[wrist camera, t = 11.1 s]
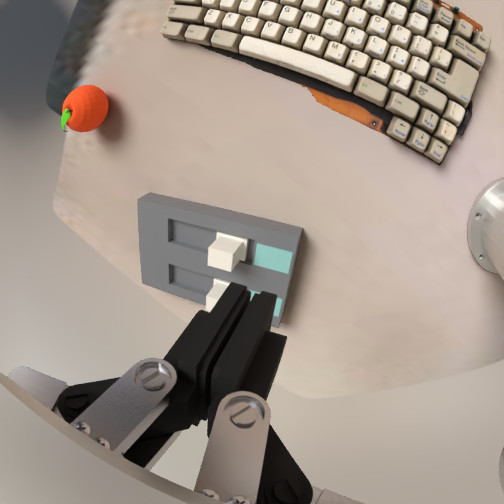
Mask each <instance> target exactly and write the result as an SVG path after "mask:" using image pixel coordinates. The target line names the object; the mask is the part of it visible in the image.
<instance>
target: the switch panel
mask: <svg viewBox="0 0 504 504" xmlns="http://www.w3.org/2000/svg"><path fill="white" fill-rule="evenodd" d="M138 227H139V246H140V260H141V273H142V283H143V284H146V285H148V286H151V287H154V288H157V289H159V290H162V291H165V292H168V293H171V294H174V295H177V296H179V297H182V298H185V299H188V300H191V301H194V302H197V303H200V304H203V305H206V296H207V294H208V293H209V292H210V290H211V289H212V288H213V283H214V278H218V279H221V280H224V281H228V282H235V283H238V284H242V285H245V286H247V290H248V291H251V299H252V297H253V296H254V294H255V293H258V294H260V293H261V291H266V292H269V293H273V294H276V295H277V300H276V305H275V310H274V314H273V319H272V323H271V326H274V327H279V325H280V322H281V319H282V317H283V314H284V309H285V305H286V301H287V297H288V293H289V288H290V284H291V280H292V275H293V271H294V267H295V262H296V258H297V253H298V249H299V244H300V239H301V235H302V230H303V228H301V227H297V226H293V225H289V224H285V223H281V222H277V221H273V220H269V219H264V218H260V217H256V216H252V215H248V214H243V213H239V212H235V211H231V210H226V209H222V208H218V207H213V206H209V205H204V204H200V203H195V202H191V201H186V200H182V199H177V198H172V197H168V196H163V195H158V194H154V193H148V194H146V195H145V196H143V197H141V198H139V199H138ZM217 231H221V232H225V233H229V234H233V235H237V236H241V237H244V238H248V239H249V244H248V251H247V258H246V260H245V261H242V260H239V262H238V263H237V264H236V266H235V267H234V269H233V270H232V271H231V272H229V271H226V270H222V269H219V268H215V267H212V266H208V265H207V264H208V248H209V247H210V245H211V244H212V243H213V242H214V241H215V240H216V235H217ZM251 299H250V301H251Z"/></svg>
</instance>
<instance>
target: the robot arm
mask: <svg viewBox="0 0 504 504" xmlns="http://www.w3.org/2000/svg"><path fill="white" fill-rule="evenodd" d="M477 213H478V214H477ZM476 214H477V215H476ZM467 234H468V242H469V246H470V249H471V251H472V253H473V256H474V257H475V259H476V260H477V262H478V263H479V264H480V265H481V266H482V267H483V268H484V269H486V270H488V271H490V272H493V273H496V274H500V276H501V277H502V279H503V281H504V178H503V179H499V180H497V181H495V182H493V183H492V184H490V185H489V186H488V187H487V188H486V189H484V191H483V192H482V193H481V194H480V195H479V197H478V198H477V200H476V202H475V203H474V205H473V208H472V210H471V213H470V217H469V221H468V231H467ZM250 299H251V291H248V290H247V286H245V285H242V284H238V283H235V282H231V283H230V284H229V285H228V287H227V288H226V290H225V291H224V293H223V294H222V296H221V297H220V298H219V300H218V301H217V303H216V304H215V306H214V307H213V309H212V310H211V312H210V313H209V312H206V311H203V310H200V311H198V313H197V314H196V315H195V316H194V318H193V319H192V320H191V322H190V323H189V325H188V326H187V327H186V329H185V330H184V331H183V333H182V334H181V336H180V337H179V338H178V340H177V341H176V342H175V344H174V345H173V346H172V348H171V349H170V351H169V352H168V353H167V355H166V356H165V357H164V359H163V360H162V359H158V358H148V359H144V360H141V361H139V362H137V363H136V364H135V365H134V366H132V367H131V368H130V369H129V370H128V371H127V372H126V373H125V374H124V375H123V376H122V377H119V378H114V379H107V380H102V381H96V382H90V383H84V384H78V385H73V386H68V385H67V384H66V382H64V381H61V380H58V379H56V378H53V377H50V376H48V375H45V374H43V373H40V372H38V371H36V370H33V369H31V368H29V367H24V366H21V367H17V368H15V369H13V370H12V371H11V372H10V373H9V375H8V376H7V377H6V376H5V375H3V374H2V373H0V504H364V503H361V502H358V501H356V500H352V499H350V498H347V497H345V496H342V495H339V494H337V493H335V492H332V491H330V490H327V489H324V490H322V489H319V488H317V487H314V486H312V485H311V484H310V482H309V481H308V479H307V478H306V476H305V475H304V473H303V472H302V471H301V469H300V468H299V466H298V465H297V463H296V462H295V461H294V459H293V458H292V456H291V455H290V453H289V452H288V451H287V449H286V447H285V446H284V444H283V443H282V442H281V440H280V438H279V437H278V435H277V434H276V432H275V431H274V430H273V428H272V426H271V425H270V408H269V406H268V404H267V402H266V400H267V397H268V394H269V392H270V389H271V386H272V383H273V381H274V378H275V375H276V372H277V369H278V366H279V363H280V360H281V357H282V354H283V350H284V347H285V343H286V339H287V336H284V335H280V334H277V333H273V332H270V328H271V323H272V319H273V314H274V310H275V305H276V300H277V295H276V294H273V293H269V292H266V291H261V293H260V294H258V293H255V294H254V296H253V297H252V299H251V301H250ZM207 418H208V429H207V436H208V438H209V441H208V444H207V448H206V451H205V454H204V458H203V461H202V465H201V468H200V471H199V475H198V478H197V481H196V485H195V489H194V491H192V490H190V489H187V488H185V487H183V486H180V485H178V484H176V483H173V482H171V481H169V480H167V479H164V478H162V477H160V476H158V475H156V474H154V473H152V472H150V469H151V468H152V467H153V466H154V465H155V464H156V462H157V461H158V460H159V459H160V458H161V457H162V455H163V454H164V453H165V452H166V450H167V449H168V448H169V447H170V446H171V445H172V443H173V442H174V441H175V440H176V439H177V437H178V436H179V435H180V433H181V431H182V430H185V429H189V428H190V426H191V424H193V425H195V426H198V424H199V422H200V420H201V419H202V420H204V421H206V420H207ZM499 478H500V483H501V487H502V489H503V492H504V448H503V450H502V453H501V456H500V461H499Z"/></svg>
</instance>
